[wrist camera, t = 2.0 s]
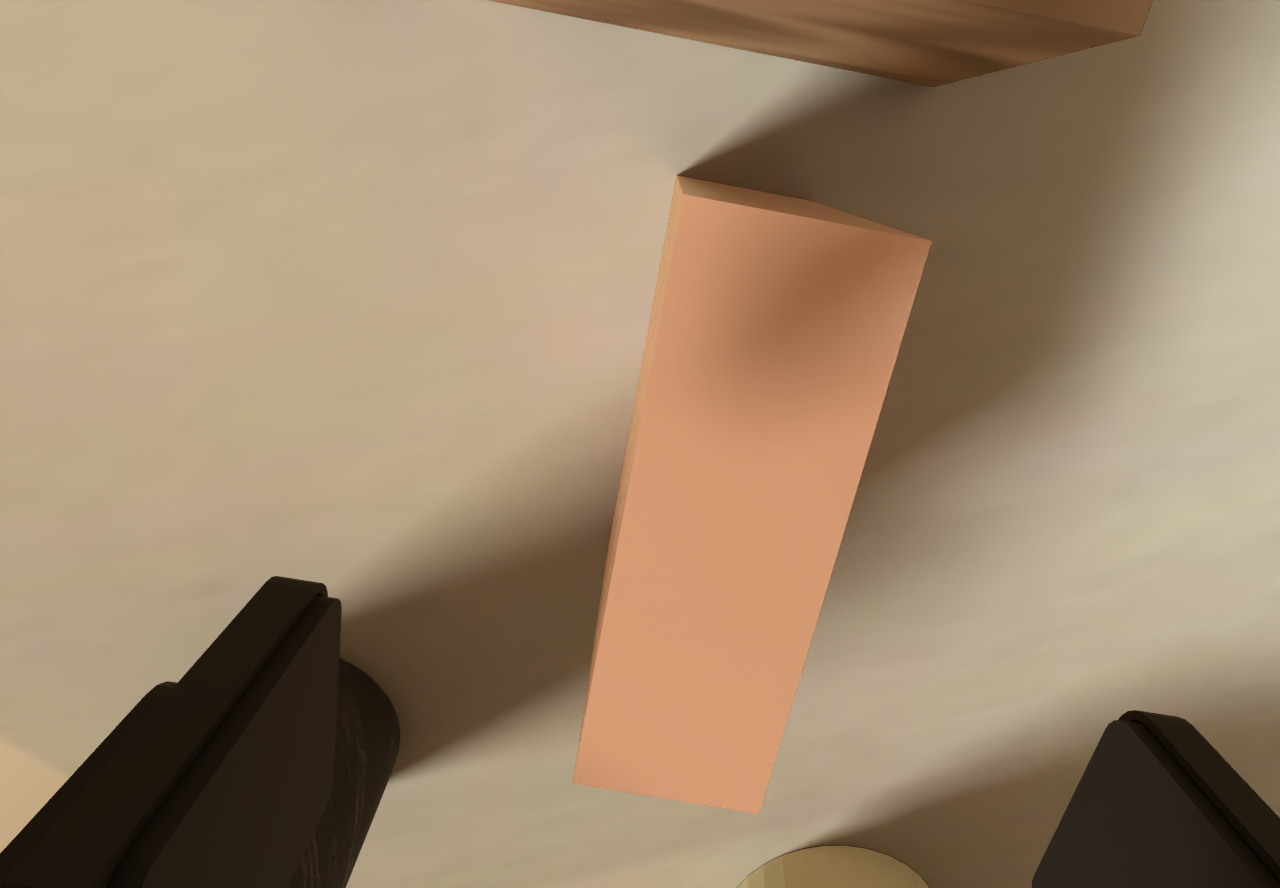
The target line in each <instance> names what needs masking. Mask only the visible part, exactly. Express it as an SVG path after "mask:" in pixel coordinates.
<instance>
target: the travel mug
mask: <svg viewBox="0 0 1280 888" xmlns="http://www.w3.org/2000/svg"><path fill="white" fill-rule="evenodd" d="M399 740H400V732H399V724H398V720H397V716H396V714H395V711H394V709H393V707H392V705H391V703H390V701H389V700H388V698H387V696H386V695H385V694H384V693H383V691H382V690H381V689H380V687H379V686H378V685H377V684H376V683H375V682H374V681H373V680H372V679H370V678H369V677H368V676H367V675H366V674H364V673H363V672H362V671H360V670H359V669H357V668H356V667H354V666H353V665H351V664H349V663H347V662H345V661H343V660H341V659H339V674H338V695H337V716H336V737H335V758H334V776H333V784H332V789H331V793H330V796H329V799H328V802H327V805H326V808H325V810H324V812H323V815H322V817H321V819H320V821H319V823H318V825H317V827H316V829H315V831H314V833H313V835H312V837H311V839H310V841H309V843H308V845H307V847H306V849H305V851H304V854H303V856H302V858H301V860H300V862H299V864H298V866H297V868H296V870H295V872H294V874H293V876H292V878H291V880H290V882H289V884H288V886H287V888H346V885H347V883H348V880H349V878H350V875H351V873H352V870H353V868H354V865H355V863H356V860H357V858H358V855H359V853H360V850H361V848H362V845H363V843H364V840H365V838H366V835H367V833H368V830H369V828H370V825H371V823H372V820H373V818H374V815H375V813H376V810H377V808H378V805H379V803H380V800H381V798H382V795H383V793H384V790H385V788H386V785H387V783H388V780H389V777H390V775H391V772H392V769H393V767H394V764H395V761H396V758H397V754H398V750H399Z"/></svg>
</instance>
